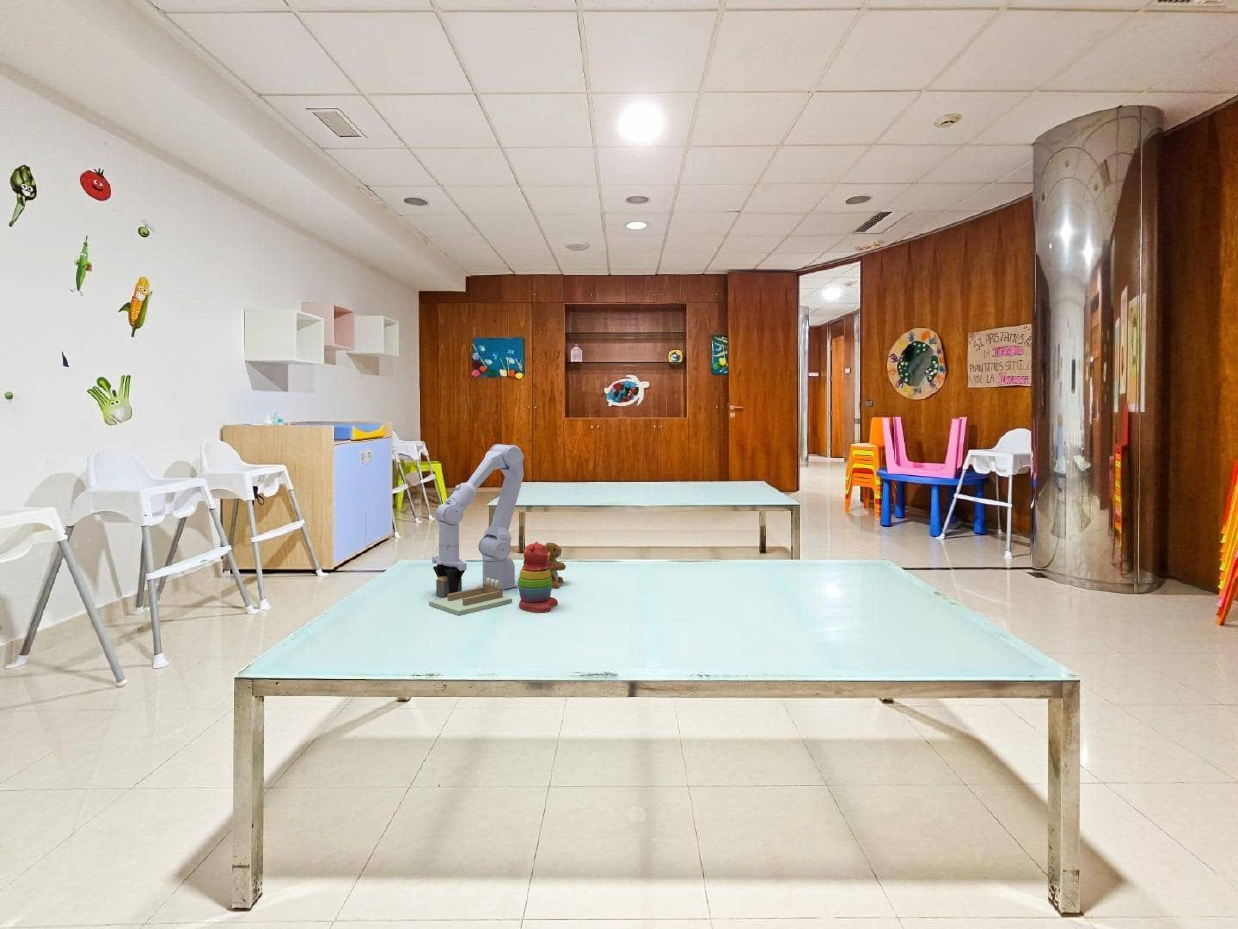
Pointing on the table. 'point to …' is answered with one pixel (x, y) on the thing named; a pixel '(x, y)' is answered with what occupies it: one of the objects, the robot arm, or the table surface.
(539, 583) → the stacking bear
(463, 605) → the board
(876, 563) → the table surface
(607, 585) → the table surface
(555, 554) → the brown teddy bear
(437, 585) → the plug block
